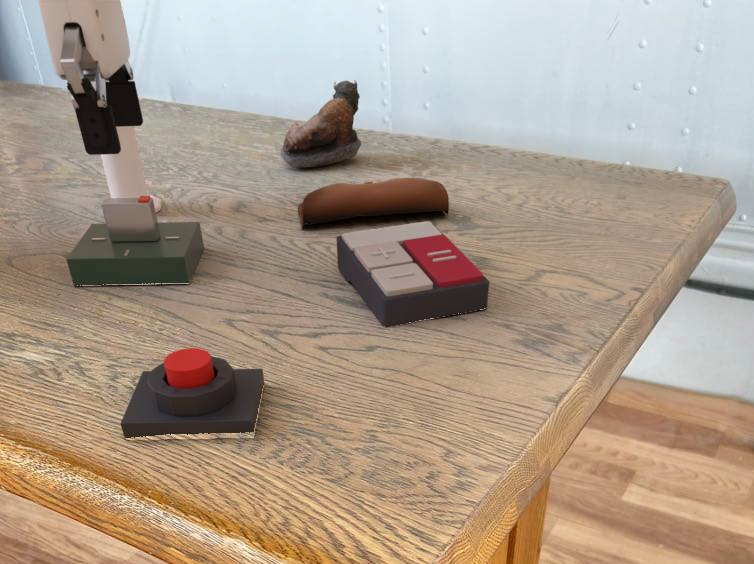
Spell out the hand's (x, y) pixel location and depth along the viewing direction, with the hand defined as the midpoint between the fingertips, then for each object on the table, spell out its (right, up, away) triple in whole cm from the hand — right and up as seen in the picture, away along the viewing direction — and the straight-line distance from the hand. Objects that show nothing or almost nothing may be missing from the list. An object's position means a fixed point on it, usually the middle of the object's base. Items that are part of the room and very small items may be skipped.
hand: (116, 138), depth 79 cm
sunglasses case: (+24, 0, +20) cm, 32 cm away
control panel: (0, -10, +8) cm, 13 cm away
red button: (+12, -27, -16) cm, 34 cm away
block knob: (0, -8, +6) cm, 10 cm away
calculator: (+29, -14, +4) cm, 32 cm away
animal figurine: (+17, +14, +36) cm, 42 cm away
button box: (+12, -29, -14) cm, 35 cm away
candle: (-6, +2, +22) cm, 23 cm away
